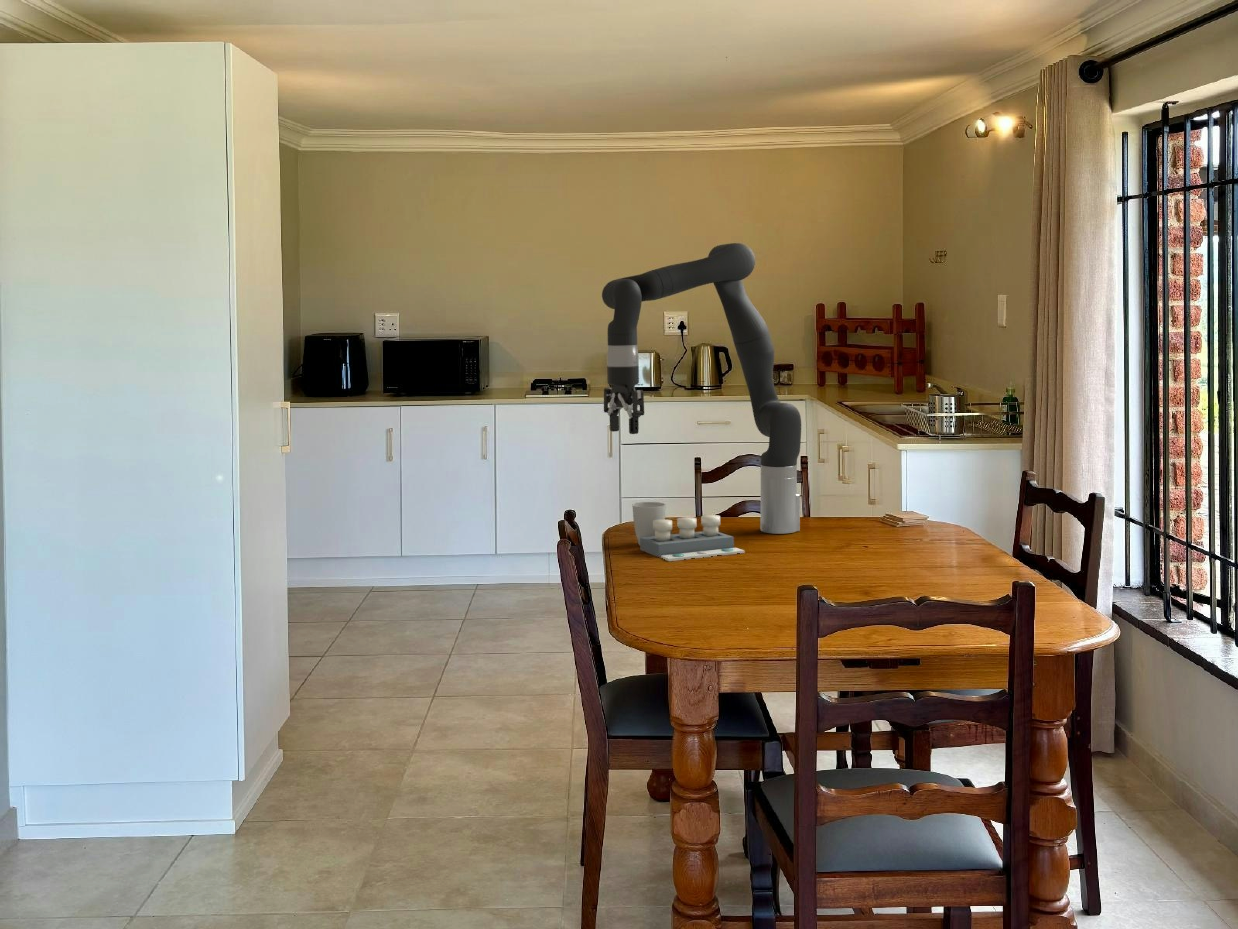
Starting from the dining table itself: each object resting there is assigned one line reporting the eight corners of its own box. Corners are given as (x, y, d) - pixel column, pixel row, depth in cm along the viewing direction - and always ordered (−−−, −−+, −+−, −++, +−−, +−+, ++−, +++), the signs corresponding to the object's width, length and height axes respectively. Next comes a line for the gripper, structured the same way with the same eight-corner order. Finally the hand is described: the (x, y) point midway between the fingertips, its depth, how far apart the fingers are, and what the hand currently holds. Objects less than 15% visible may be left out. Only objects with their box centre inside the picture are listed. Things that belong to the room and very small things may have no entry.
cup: (666, 541, 292) (666, 501, 291) (664, 548, 284) (664, 507, 283) (634, 541, 293) (633, 501, 291) (631, 547, 285) (630, 507, 283)
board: (713, 542, 290) (713, 530, 290) (733, 549, 281) (733, 537, 281) (640, 549, 282) (640, 537, 282) (659, 557, 273) (658, 544, 273)
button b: (690, 535, 284) (690, 516, 284) (700, 538, 280) (699, 519, 280) (674, 536, 282) (673, 518, 282) (682, 540, 278) (682, 521, 278)
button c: (666, 537, 282) (666, 518, 281) (675, 540, 277) (675, 521, 277) (649, 539, 280) (649, 520, 279) (658, 542, 276) (658, 523, 275)
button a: (714, 532, 287) (714, 514, 286) (723, 536, 283) (723, 517, 282) (697, 534, 285) (697, 515, 284) (707, 537, 281) (707, 518, 280)
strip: (735, 550, 280) (735, 546, 280) (744, 553, 277) (744, 549, 277) (661, 558, 272) (660, 554, 272) (668, 561, 268) (668, 557, 268)
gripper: (652, 364, 275) (653, 433, 277) (620, 363, 287) (621, 429, 289) (625, 366, 271) (626, 436, 273) (593, 364, 283) (595, 431, 285)
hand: (624, 432), depth 281 cm, fingers open, 8 cm apart
